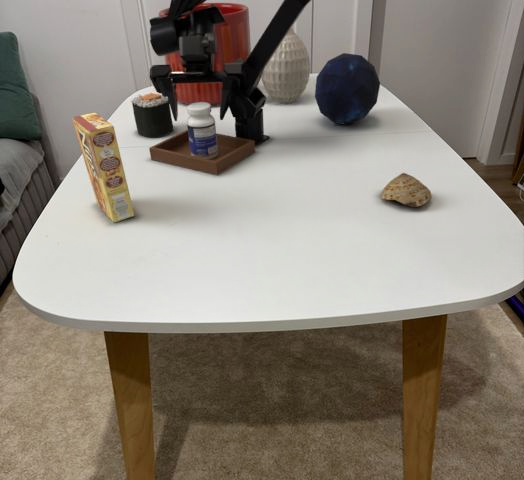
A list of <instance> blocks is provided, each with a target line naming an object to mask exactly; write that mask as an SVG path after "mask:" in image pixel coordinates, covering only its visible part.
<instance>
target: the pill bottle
mask: <svg viewBox="0 0 524 480" xmlns="http://www.w3.org/2000/svg"><path fill="white" fill-rule="evenodd" d="M186 108H187V109H186V110H187V114H188V115H189V117H188V118H187V119H186V127H187V130H188V136H189V143H190V150H191V156H196V157H200V158H205V159H213V158H215V157H216V156H217V155H218V146H217V137H216V133H217V129H216V128H217V127H216V120H215V118H214V116H213V115H212V114H211V113H212V106H211V105H210V104H209V103H206V102H197V103H192V104H190V105H187V107H186Z"/></svg>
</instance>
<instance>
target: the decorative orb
mask: <svg viewBox="0 0 524 480" xmlns="http://www.w3.org/2000/svg"><path fill="white" fill-rule="evenodd" d="M380 87H381V82H380V78H379V76H378V74H377V71H376V68H375V66H374V65H373V63H371V62H370V61H369V60H367V59H366V58H365V57H364V56H363V55H360V54H354V53H346V52H344V53H341V54H338V55H336V56H334V57H333V58H331V59H329V60H327V62H326V63H325V64H324V66H323V67H322V69H321V70H320V71H319V73H318V74H317V76H316V81H315V89H314V98H315V101H316V104H317V108H318V110H319V113H320V114H321V115H322V116H324V117H325V118H327V119H328V120H330V121H331V122H332V123H334V124H339V125H346V126H351V125H353V124H355V123H357V122H359V121H361V120H363V119H365V118H366V117H367V115H368V114H369V113H370V112H371V110H372V109H373V108H374V107H375V105H376V104H377V103H378V97H379V92H380Z"/></svg>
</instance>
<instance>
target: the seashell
mask: <svg viewBox="0 0 524 480" xmlns="http://www.w3.org/2000/svg"><path fill="white" fill-rule="evenodd" d="M432 196H433V195H432V192H431V190H430V189H429V188H428V186H427V185H425V184H424V183H422V182H421V180H419V179H417V178H416V177H415V176H413V175H410V174H408V173H405V172H402V173H400V174H399V175H397V176H395V177H394V178H393V179H391V180H390V181H389V182H388V183H387V184H386V185H385V186H384V187H383V189H382V191H381V193H380V198H381V199H382V200H387V201H397V202H399V203H401V204H402V205H404V206H409V207H412V208H418V207H421V206H423V205H425V204H427V203H428V202H429V201H431V200H432V198H433V197H432Z"/></svg>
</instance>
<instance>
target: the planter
mask: <svg viewBox="0 0 524 480" xmlns="http://www.w3.org/2000/svg"><path fill="white" fill-rule="evenodd" d="M212 4H214V5H215V6H216V7H218V8H219V10H220V12H221V13H222V15H223V16H224V18H225V22H223V23H219V24H216V25H215V34H216V40H217V54H214V71H224V64H225V63H234V62H235V61H237V60H238V59H239V58H240V57H241V58H242V59H243V60H244V62H245V60H246V59H247V58H248V56H249V55H250V53H251V52H252V46H251V45H252V44H251V26H250V10H249V7H248V6H247V5H246V4H242V3H233V2H204V3H202V4H201V5H198V6H196V7H195V8H194V9H193V11H196V10H200V9H205V8H208V7H210V6H211V5H212ZM169 8H170V7H168V8H164V9H161V10H160V11H159V12H158V17H163V16H167V15H168V12H169ZM193 11H192V12H193ZM192 12H191V13H192ZM191 13H189V14H191ZM189 14H187V15H185V16H183V17H182V18H185V17H188V15H189ZM163 57H164V65H170V66H171V68H172V71H173V72H185V67H184V68H183V66H182V58H180V53H179V52H178V53H173V54H169V55H165V56H163ZM221 88H222V83H176V90H175V91H176V93H177V103H180V104H184V105H187V106H188V105H190V104H192V103H197V102H206V103H209V104H210V105H211V107H212V106H213V107H215V106H216V107H217V106H220V104H221V96H222V93H221Z"/></svg>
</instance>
